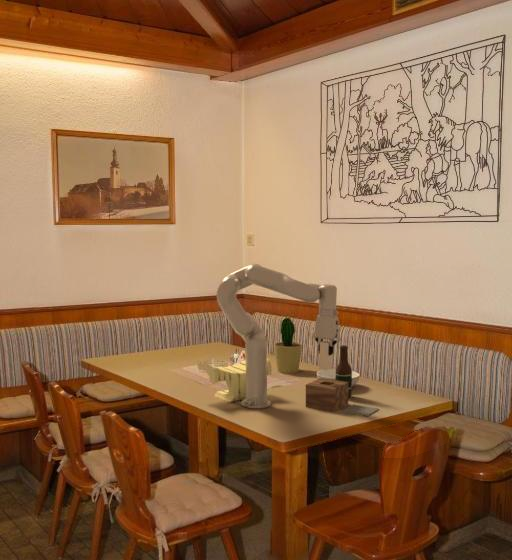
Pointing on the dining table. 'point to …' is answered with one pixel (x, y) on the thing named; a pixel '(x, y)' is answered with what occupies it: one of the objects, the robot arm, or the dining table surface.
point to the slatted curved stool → (230, 379)
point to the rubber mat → (360, 410)
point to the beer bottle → (344, 369)
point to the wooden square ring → (327, 394)
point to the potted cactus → (287, 349)
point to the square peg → (325, 356)
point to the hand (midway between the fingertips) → (325, 353)
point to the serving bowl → (331, 375)
